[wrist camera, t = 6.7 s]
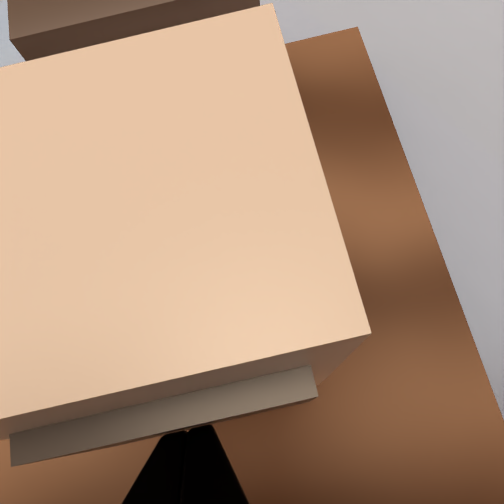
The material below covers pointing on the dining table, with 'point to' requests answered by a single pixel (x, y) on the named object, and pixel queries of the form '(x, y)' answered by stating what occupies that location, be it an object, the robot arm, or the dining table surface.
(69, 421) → the block
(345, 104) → the gauge base
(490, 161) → the dining table surface
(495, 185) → the dining table surface
